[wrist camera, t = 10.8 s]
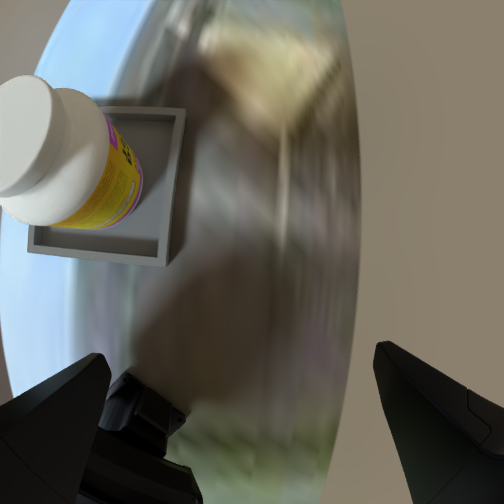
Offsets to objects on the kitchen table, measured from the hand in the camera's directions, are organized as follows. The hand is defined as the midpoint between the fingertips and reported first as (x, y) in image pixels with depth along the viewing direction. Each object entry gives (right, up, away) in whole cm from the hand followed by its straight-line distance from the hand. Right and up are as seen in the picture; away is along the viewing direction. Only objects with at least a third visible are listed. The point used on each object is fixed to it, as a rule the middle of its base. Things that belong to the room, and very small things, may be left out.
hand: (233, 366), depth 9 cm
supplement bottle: (-10, +8, +11) cm, 17 cm away
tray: (-10, +9, +11) cm, 18 cm away
